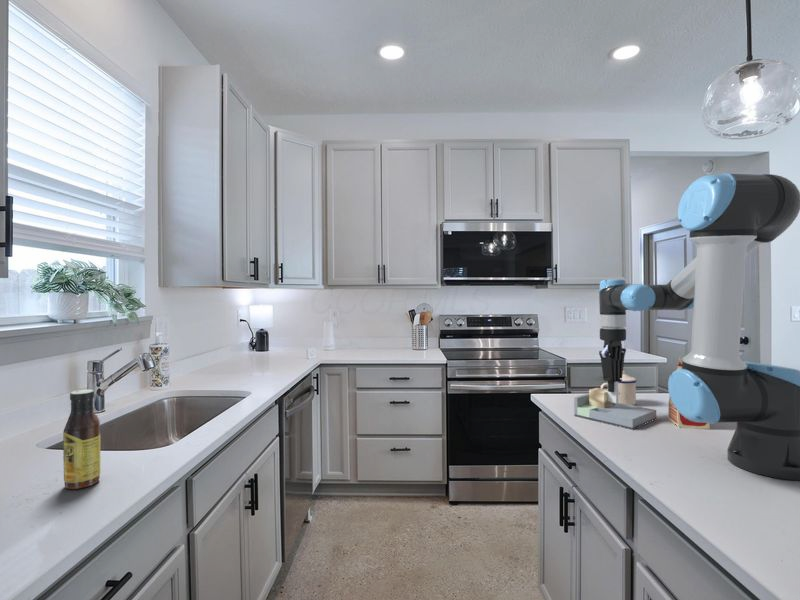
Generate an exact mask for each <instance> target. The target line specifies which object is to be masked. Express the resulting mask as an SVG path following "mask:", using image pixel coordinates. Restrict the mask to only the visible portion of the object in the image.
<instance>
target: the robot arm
mask: <svg viewBox="0 0 800 600" xmlns="http://www.w3.org/2000/svg"><path fill="white" fill-rule="evenodd" d="M799 213H800V190H799V189H798V187H797V185H796V184H795V183H794V182H792V181H791V180H790V179H788V178H787V177H784V176H782V175H778V174H772V173H771V174H770V173H769V174H768V173H767V174H750V173H749V174H748V173H747V174H744V173H726V172H725V173H718V174H707V175H704V176H701V177H699V178H697V179H696V180H694V181H693V182H692V183H690V185H689V186H688V188H686V190H684V192H683V194H682V196H681V198H680V200H679V203H678V208H677V219H678V222H680V225H681V226H682V227H683V228H684V229H686V230H687V231H689V237H688V238H689V241H691V242H692V244H694V245H695V246H696V257H694V258H693V259H692V260H691V261H690V262H689V263H688V264H687V265H686V266H685V267H684V268H683V269H681V271H680V272H678V273H677V274H676V275H675V276H674V277H673V278H672V279H671V280H669V282H667V283H666V284H640V283H639V284H636V283H635V284H627V283H626V280H625V279H622V278H620V279H619V278H618V279H611V278H610V279H602V280H601V281H600V282H599V289H598V295H599V296H598V297H599V299H598V300H599V303H598V305H599V316H598V317H599V318H598V320H599V326H600V327H601V328H600V329H599V339H600V340H601V341H603V349H602V350H599V351H598V354H599V357H600V363H601V369H602V370H601V371H602V377H603V381H604V382H607V383H608V385H607V390H608V401H609V402H614V403H618V402H619V395H618V381H620V382H621V381H622V379H620V378H622V375H623V371H624V364H625V357H626V352H627V349H626V348H624V347H623V343H622V342H625V341H626V340H627V330H626V327H627V311H632V312H642V311H683V310H692V309H693V310H692V326H691V340H690V341H691V342H690V352H689V353H688V354H686V355H685V356H684V357H681V358H682V369H679V370H677V369H676V370H674V371H673V372H672V373H671V374H670V375H669V378H668V383H667V389H668V390H667V391H668V394H669V398H671V400H672V402H673V404H674V405H675V407H676V409H677V410H678V411H679V413H680V414H681V415H683V416H684V417H685V418H687V419H688V420H691V421H693V422H701V423H710V424H711V425H712V424H718V423H719V424H720V423H721V424H723V423H736V428H735V431H734V433H733V435H732V438H731V440H730V442H729V444H728V447H727V452H726V453H727V454H726V455H727V456H726V457H727V460H728V462H729V463H731V464H732V465H734V466H736V467H738V468H740V469H742V470H745V471H747V472H750V473H754V474H757V475H761V476H765V477H770V478H776V479H783V480H787V481H789V480H790V481H791V480H792V481H800V370H799V369H796V368H792V367H786V366H782V365H781V366H779V365H773V364H769V363H767V364H765V363H760V362H759V363H758V362H751V361H746V360H745V361H743V360H742V359H741V358H740V345H741V333H742V331H741V329H742V317H743V305H744V304H743V302H744V291H745V277H746V275H745V274H746V264H747V263H746V261H747V256H748V255H749V254H750V253H751V252H753V251H754V250H755V249H757V248H758V247H759V246H760V245H762V244H769V243H771V242H773V241H774V240H775V239H777V238H778V237H779V236H781V235H782V234H784V232H785V231H786V230H787V229H789V228H790V226H791V225H792V224H794V221H795V220H796V219H797V217H798V215H799Z"/></svg>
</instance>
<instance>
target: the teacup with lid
mask: <svg viewBox="0 0 800 600" xmlns="http://www.w3.org/2000/svg"><path fill="white" fill-rule="evenodd" d="M620 379H622V381H621V382H620V381H618V395H619V402H618V403H623V404H628V405H633V406H636V404H637V403H636V402H637V395H636V394H637V392H636V391H637V389H636V388H637V386H636V385H637V379H636V378H635V377H633V376H630V375H629V374H627V373H626V371H625V370H623V375H622V378H620ZM606 386H608V382H604V383H602V384H601V385H600V388H601V389H605V388H604V387H606Z"/></svg>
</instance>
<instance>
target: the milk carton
mask: <svg viewBox="0 0 800 600" xmlns="http://www.w3.org/2000/svg"><path fill="white" fill-rule="evenodd" d="M678 358H679V363H678V365H677V367H676V370H679V369H682V358H683V357H678ZM667 415H668V416H667V417H668V418H669V419H670V420H671V421H672V422H673V423H672V422H671V421H670V420H669V419H668V418H667V419H668V420H669V421H670V422H671V423H672V424H674V425H675V424H676V425H677V426H678V427H682V428H681V429H693V428H696V430H697V429H698V430H699V429H700V430H701V429H702V430H710V429H711V427H710V424H711V423H701V422H693V421H691V420H688V419H687V418H685V417H684V416H683V415H681V414H680V413H679V411H678V410H677V409H676V407H675V405H674V404H673V402H672V400H671V398H670V397H669V399H668V414H667ZM676 425H675V426H676ZM677 426H676V427H677ZM678 427H677V428H678Z"/></svg>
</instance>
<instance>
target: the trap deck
mask: <svg viewBox="0 0 800 600" xmlns="http://www.w3.org/2000/svg"><path fill="white" fill-rule="evenodd" d="M573 398H574V406H573V407H574V408H573V410H574V415H573V416H574V417H578V418H581V419H587V420H590V421H595V422H599V423H602V422H603V424H606V423H608V424H607V425H610V424H612V425H611V426H615V425H617V426H616V427H619V426H621V427H620V428H623V427H625V428H624V429H627V428H629V430H631V429H633V430H635V429H634V428H636V429H638V428H640V427H642V426H641V425H643V424H645V423H647V422H650V421H652V420H654V421H656V420H657V409H653V408H648V407H642V406H637V405H628V404H623V403H614V402H612V406H610V407H607V408H600V407H596V406H591V405H589V393H585V394H582V395H578V396H574V397H573ZM655 419H656V420H655ZM652 422H653V421H652ZM650 423H651V422H650ZM647 424H648V423H647ZM645 425H646V424H645ZM639 426H640V427H639ZM643 426H644V425H643ZM637 427H638V428H637Z"/></svg>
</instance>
